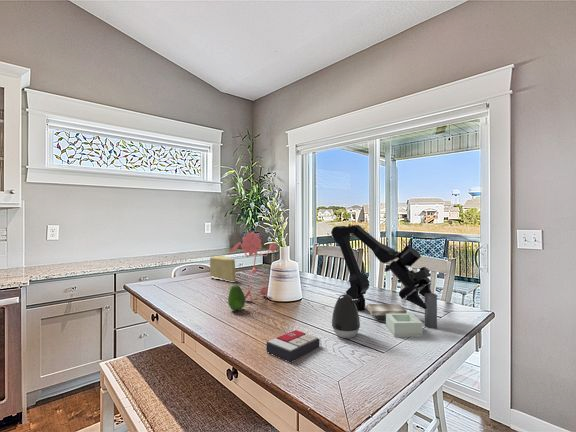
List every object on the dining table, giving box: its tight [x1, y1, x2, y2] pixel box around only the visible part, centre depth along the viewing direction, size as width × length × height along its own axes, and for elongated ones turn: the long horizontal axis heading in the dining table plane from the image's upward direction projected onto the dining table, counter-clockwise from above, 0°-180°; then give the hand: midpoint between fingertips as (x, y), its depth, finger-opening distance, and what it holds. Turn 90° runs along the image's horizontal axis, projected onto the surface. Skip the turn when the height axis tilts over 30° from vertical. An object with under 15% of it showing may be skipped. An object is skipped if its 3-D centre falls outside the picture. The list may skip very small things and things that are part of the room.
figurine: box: [229, 230, 277, 302], centre depth 167 cm, size 15×26×35 cm, turn 128°
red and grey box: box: [266, 329, 321, 363], centre depth 107 cm, size 11×4×15 cm
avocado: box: [227, 284, 246, 311], centre depth 148 cm, size 8×8×12 cm
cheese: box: [209, 255, 236, 282], centre depth 208 cm, size 22×10×15 cm, turn 43°
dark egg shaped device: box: [331, 293, 361, 339], centre depth 117 cm, size 10×10×15 cm
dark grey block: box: [423, 292, 438, 330], centre depth 124 cm, size 4×4×12 cm
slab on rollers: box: [366, 303, 408, 321], centre depth 135 cm, size 14×9×4 cm, turn 90°
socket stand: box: [385, 312, 423, 338], centre depth 120 cm, size 10×10×5 cm
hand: (430, 305), depth 124 cm, fingers open, 9 cm apart
